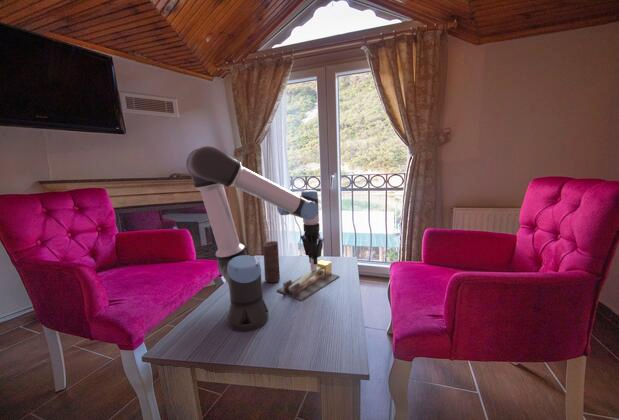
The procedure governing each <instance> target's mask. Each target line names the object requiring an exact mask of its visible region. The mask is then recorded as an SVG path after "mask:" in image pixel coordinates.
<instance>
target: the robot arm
mask: <svg viewBox="0 0 619 420" xmlns="http://www.w3.org/2000/svg"><path fill="white" fill-rule="evenodd" d="M186 170H187V171H188V173H189V174H190V177H191V180H192V183H193V186H194V189H196V190H198V191H199V192H200V194H201V197H202V201H203V204H204V208H205V211H206V213H207V217H208V220H209V224H210V227H211V230H212V234H213V237H214V240H215V243H216V246H217V250H216V252H215V257H216V261H217V269H218V272H219V273H220V274H221V276H222V277H223V279H224V280H225V281H226V283H227V285H228V289H229V290H228V291H229V298H230V299H229V300H230V305H229V307H228V314H227V315H226V317H227V318H226V319H227V321H226V322H227V326H228V327H229V328H230V330H233V331H236V332H250V331H253V330H257V329H259V328H261V327H263V326H264V325H265V324H266V323H267V322H268V320H269V318H270V317H269V309H268V307H267V304H266V302H265V300H264V297H263V284H262V283H263V282H262V266H261V263H260V261H259V259H258V258H257V257H255V256H253V255H248V254H247V251H246V247H245V245H244V244H243V243H241V242H240V239H239V236H238V232H237V228H236V225H235V221H234V218H233V215H232V211H231V207H230V203H229V200H228V196H227V193H226V189H225V187H227V188H230V187H234V188H236V189H237V190H238V189H239V190H240V191H242V192H245V193H247V194H250V195H251V196H253V197H256V198H258V199H260V200H263V201H264V202H267V203H268V204H270V205H273V206H276V208H277V212H278V213H279V215H280V216H288V215H291V216H295V217H298V218H300V219H302V221H303V222H302V223H303V226H302V227H303V231H304V233H303V235H300V240H301V241H302V245H303V249H304V254H305V256H308V259H309V260H308V262H309V264H310V270H311V271H315V270H316V269H317V262H318V258H320V257H321V255H322V249H323V245H324V244H323V243H324V242H325V238H323V237H321V234H320V215H319V213H320V211H319V195H318V194H319V193H318V191H317V190H315V189H305V190H302V191H301V192H300V193H301V194H300V195H298V194H296V193H295V192H293V191H291V190H289V189H287V188H285V187H283V186H281V185H279V184H277V183H275V182H273V181H271V180H270V179H268V178H266V177H264V176H262V175H259V174H258V173H256V172H254V171H252V170H250V169H248V168H247V167H244V166H243V165H242V162H241V161H239V160H237V159H236V158H234V157H232V156H230V155H229V154H227V153H226V152H224V151H223V150H220V149H219V148H216V147H214V146H211V145H209V146H208V145H206V146H201V147H199V148H195V149H194V150H192V151H191V152H190V153H189V154H188V157H187V158H186Z"/></svg>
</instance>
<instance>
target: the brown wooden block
mask: <svg viewBox="0 0 619 420" xmlns="http://www.w3.org/2000/svg"><path fill="white" fill-rule="evenodd" d="M278 244H279V243H278V241H276V240H275V241H273V240H271V241H265V242H264V243H263V245H262V247H263V249H262V250H263V260H264V261H263V266H264V280H265V282H267V283H275V282H278V281H280V279H281V278H280V277H281V273H280V262H279V261H280V259H279V245H278Z"/></svg>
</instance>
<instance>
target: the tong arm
mask: <svg viewBox="0 0 619 420" xmlns="http://www.w3.org/2000/svg"><path fill="white" fill-rule="evenodd" d="M320 270H321V267H318V266H317V269H316V270H315V271H311V269H310V270H309V271H308V272H306V274H304V275H302V276H303V277H302V276H301V278H300V277H299V278H300V279H299V280H298V281H296V282H295V283H294V284H293V285H295V284H297V283H300V286H301V285H302V284H304V283H305V282H306V281H307V280H308V279H310V278H311V277H312V276H313V275H315V274H316V273H317V272H318V271H320ZM293 285H291V286H288V288H287V289H288V290H289V291H292V286H293Z"/></svg>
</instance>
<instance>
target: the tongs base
mask: <svg viewBox="0 0 619 420" xmlns="http://www.w3.org/2000/svg"><path fill="white" fill-rule="evenodd" d="M303 276H304V275H302V276H301V277H303ZM301 277H299V278H296V279H295V280H291V279H289V280H287V281H285V282H283V286H282V287H280V288H278V289H276V291H277V292H278V293H281V294H284V295H286V296H288V297H291V298H294V299H296V300H298V301H301V302H302V301H304V300H306V299H307V298H309V297H311V296H312V295H313V294H315V293H317V292H319V290H322V289H323V288H324V287H326V286H327V285H329V284H330V283H333V282H334V281H335V280H337V279H338V277H339V278H340V275H338V274H335V273H332V274H331V275H329V276H327V277H324V272H322V273H320V274H315V275H313V276H312V277H311V278H310V279H308V280H307V281H306V282H305V283H304V284H302V285H301V286H300V283H297V284H295V285H293V284H294V283H295V282H296V281H298V280H299V279H300V278H301ZM291 285H293V286H292V291H289V290H288V289H287V288H288V286H291Z"/></svg>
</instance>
